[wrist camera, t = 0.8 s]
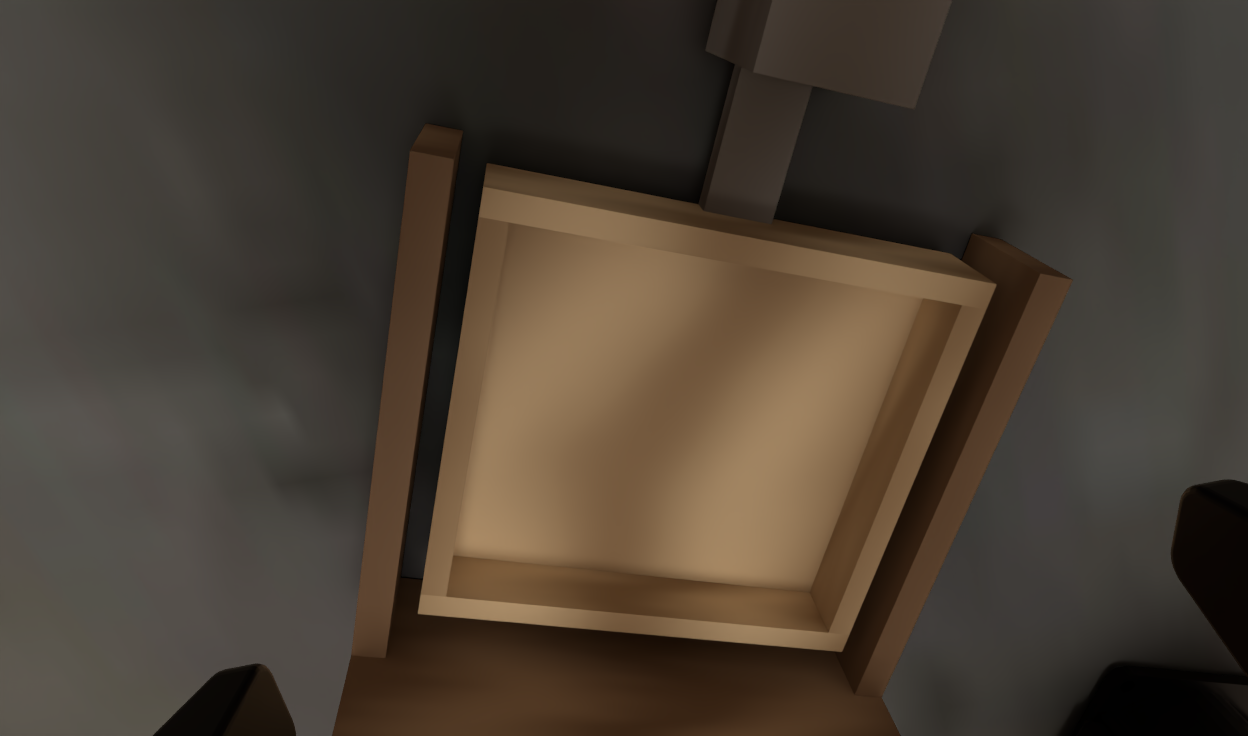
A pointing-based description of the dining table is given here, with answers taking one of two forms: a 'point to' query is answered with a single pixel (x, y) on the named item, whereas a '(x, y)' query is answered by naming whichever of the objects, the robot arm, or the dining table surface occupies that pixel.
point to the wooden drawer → (700, 371)
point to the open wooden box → (640, 663)
